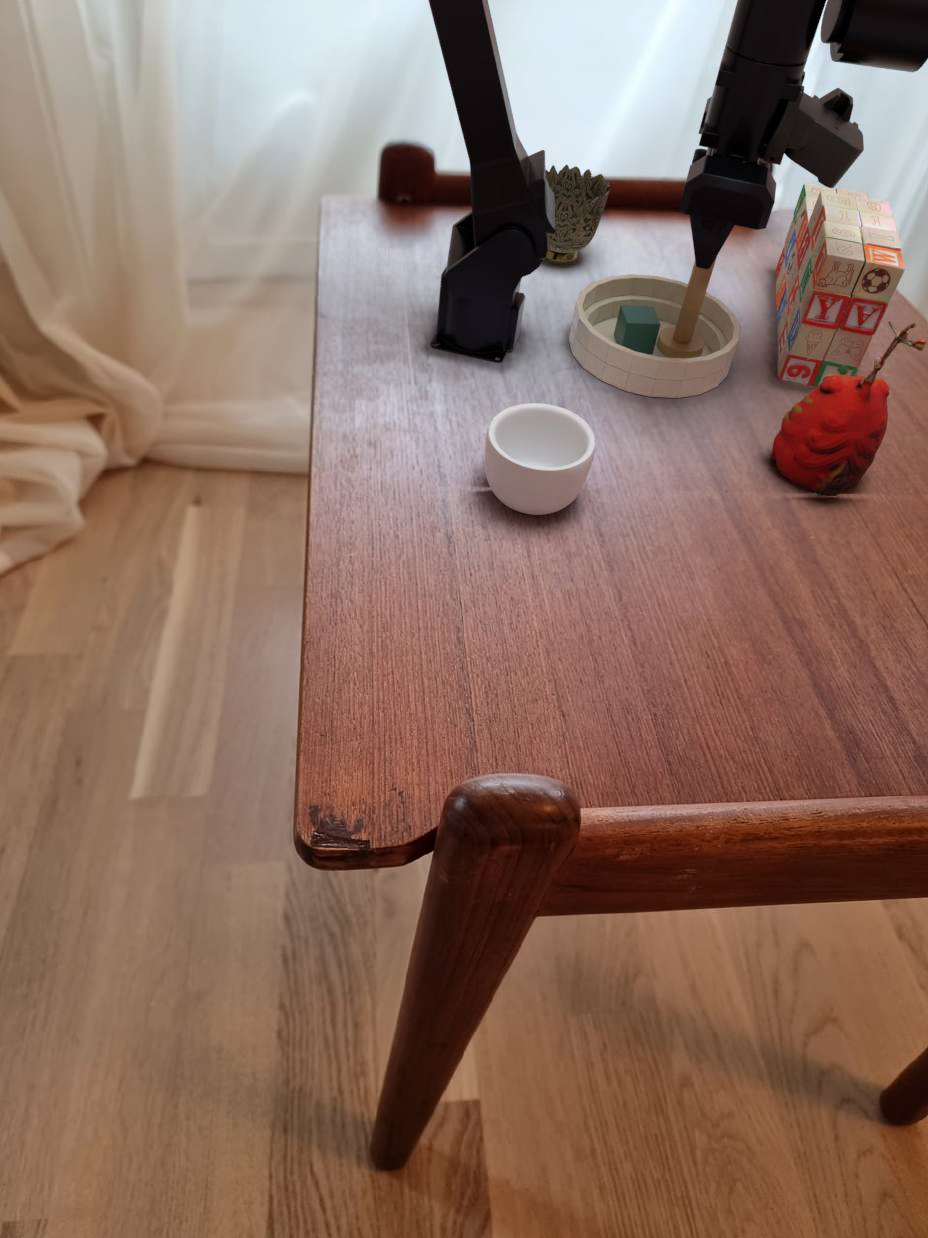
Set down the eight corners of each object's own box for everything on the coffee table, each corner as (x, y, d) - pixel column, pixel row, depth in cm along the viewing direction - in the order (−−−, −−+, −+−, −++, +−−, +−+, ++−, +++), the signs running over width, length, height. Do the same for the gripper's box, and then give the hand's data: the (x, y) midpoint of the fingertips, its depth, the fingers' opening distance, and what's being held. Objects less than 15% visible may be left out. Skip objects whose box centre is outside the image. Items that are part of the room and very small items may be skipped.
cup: (524, 237, 101) (536, 158, 95) (595, 248, 101) (611, 169, 95) (517, 272, 96) (529, 190, 90) (592, 284, 95) (608, 202, 90)
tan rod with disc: (653, 355, 85) (691, 219, 76) (659, 332, 87) (696, 198, 79) (699, 365, 84) (742, 230, 75) (703, 342, 87) (745, 209, 78)
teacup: (562, 543, 69) (575, 483, 65) (462, 508, 71) (470, 448, 67) (604, 466, 76) (618, 407, 72) (512, 435, 77) (521, 376, 74)
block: (619, 353, 86) (627, 322, 84) (613, 334, 88) (620, 304, 86) (652, 354, 87) (660, 324, 85) (645, 336, 89) (653, 306, 87)
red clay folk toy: (840, 447, 81) (920, 277, 70) (876, 503, 76) (967, 330, 65) (753, 448, 79) (820, 275, 68) (784, 505, 75) (862, 329, 64)
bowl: (554, 380, 83) (562, 338, 81) (583, 301, 93) (591, 261, 90) (719, 418, 82) (734, 377, 79) (732, 334, 92) (745, 294, 89)
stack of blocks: (772, 271, 101) (815, 148, 92) (833, 283, 100) (882, 160, 91) (775, 384, 86) (827, 251, 77) (847, 398, 86) (907, 266, 77)
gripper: (887, 120, 61) (799, 341, 73) (878, 35, 74) (804, 234, 85) (711, 85, 63) (652, 308, 74) (731, 7, 75) (678, 207, 87)
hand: (703, 262), depth 80 cm, fingers closed on tan rod with disc, 2 cm apart
